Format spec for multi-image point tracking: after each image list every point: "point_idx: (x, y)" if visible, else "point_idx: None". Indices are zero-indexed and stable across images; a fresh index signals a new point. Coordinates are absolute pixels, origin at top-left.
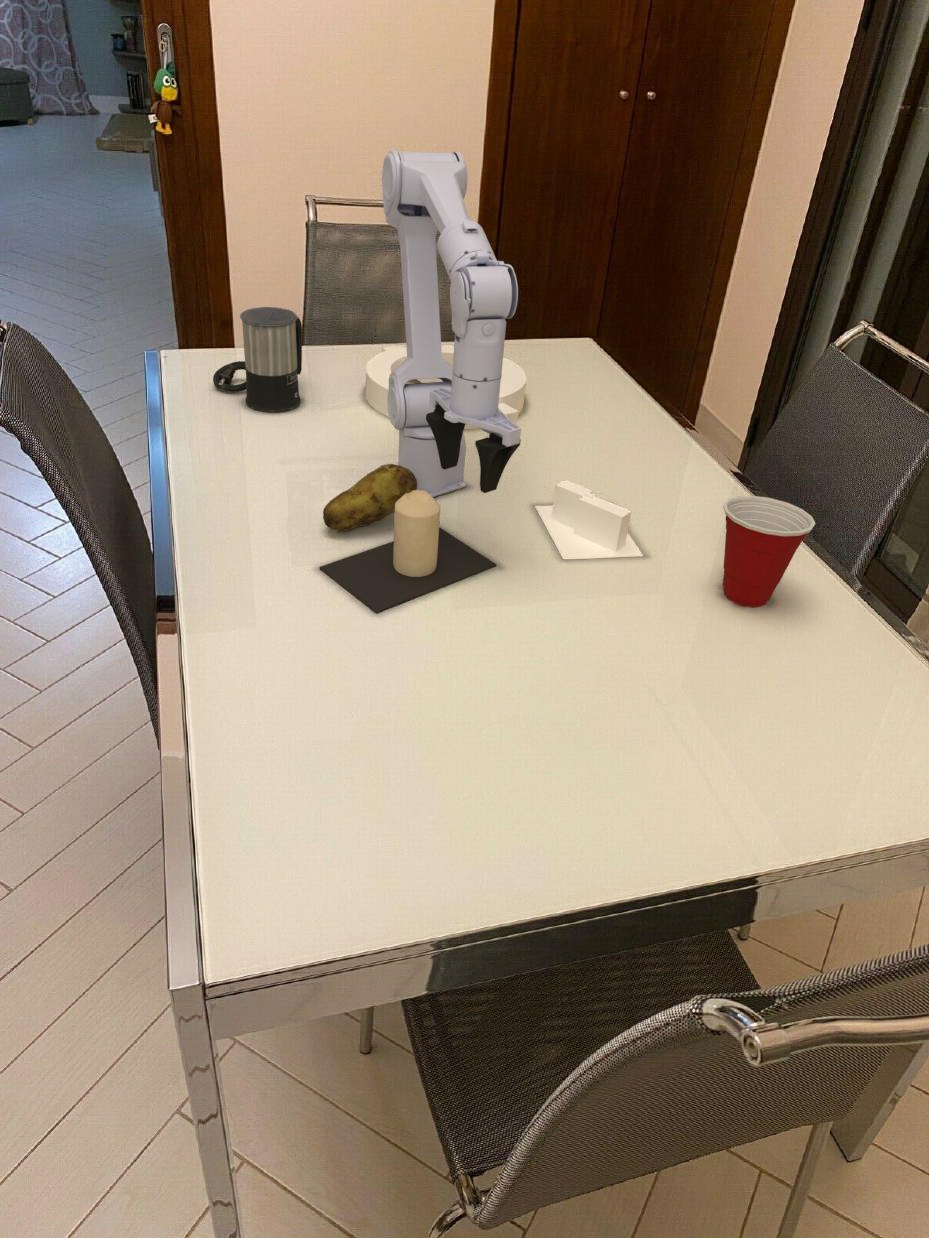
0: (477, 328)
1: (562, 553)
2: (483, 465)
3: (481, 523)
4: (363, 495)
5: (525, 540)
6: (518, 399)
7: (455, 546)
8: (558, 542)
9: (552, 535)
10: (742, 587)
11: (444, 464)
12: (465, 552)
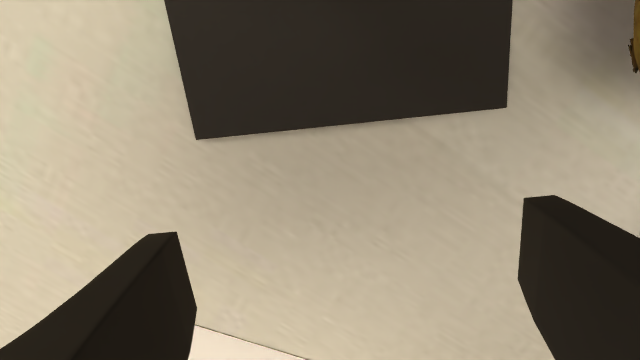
0: None
1: None
2: (30, 351)
3: (443, 239)
4: None
5: (293, 288)
6: None
7: (356, 84)
8: (240, 348)
9: (280, 356)
10: None
11: (539, 215)
12: (305, 92)
